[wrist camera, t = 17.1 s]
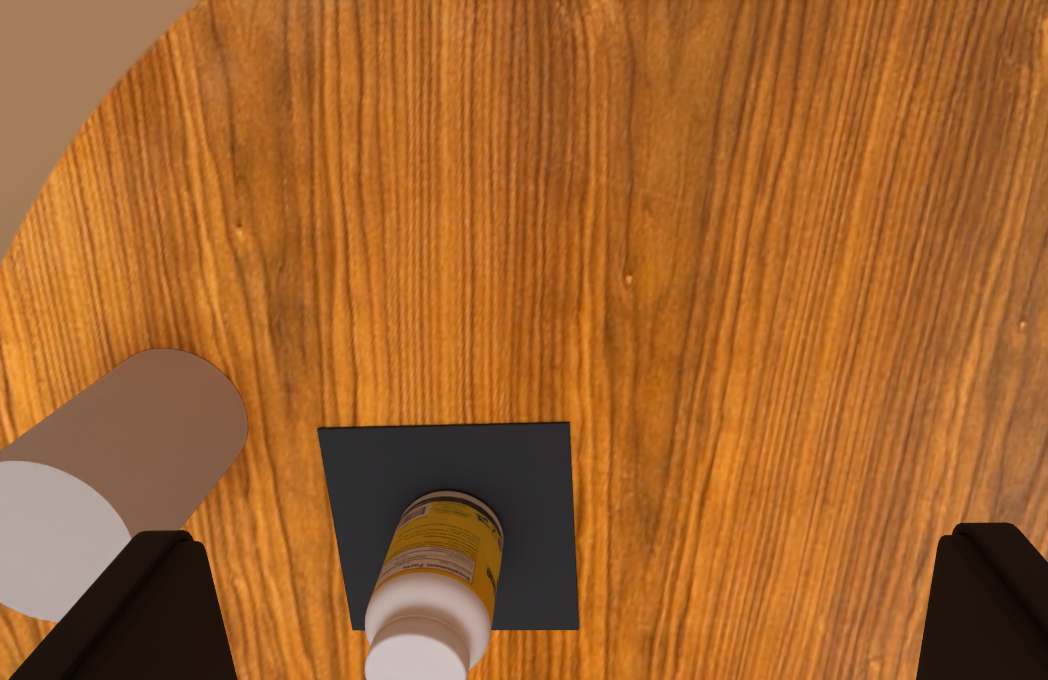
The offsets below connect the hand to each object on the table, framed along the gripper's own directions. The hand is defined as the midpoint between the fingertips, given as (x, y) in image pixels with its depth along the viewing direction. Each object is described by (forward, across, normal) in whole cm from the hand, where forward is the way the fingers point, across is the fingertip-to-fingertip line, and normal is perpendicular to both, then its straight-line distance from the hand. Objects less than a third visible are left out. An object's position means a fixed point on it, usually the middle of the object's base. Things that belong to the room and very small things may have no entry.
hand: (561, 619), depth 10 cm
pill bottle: (+30, +8, +20) cm, 37 cm away
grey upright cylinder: (+30, +23, +12) cm, 40 cm away
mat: (+30, +8, +20) cm, 37 cm away
